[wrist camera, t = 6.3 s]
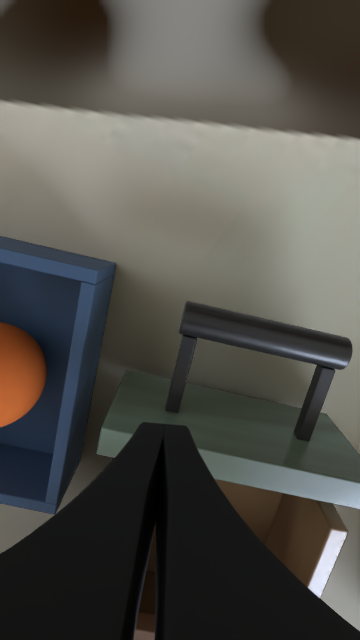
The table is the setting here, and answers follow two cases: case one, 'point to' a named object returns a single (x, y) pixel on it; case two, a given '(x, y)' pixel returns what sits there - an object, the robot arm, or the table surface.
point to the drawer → (255, 440)
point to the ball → (19, 373)
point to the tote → (51, 365)
